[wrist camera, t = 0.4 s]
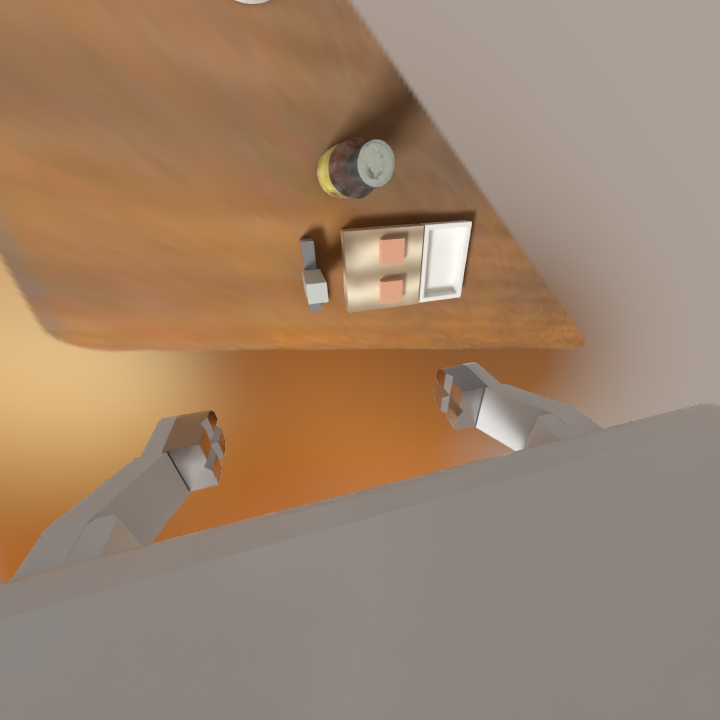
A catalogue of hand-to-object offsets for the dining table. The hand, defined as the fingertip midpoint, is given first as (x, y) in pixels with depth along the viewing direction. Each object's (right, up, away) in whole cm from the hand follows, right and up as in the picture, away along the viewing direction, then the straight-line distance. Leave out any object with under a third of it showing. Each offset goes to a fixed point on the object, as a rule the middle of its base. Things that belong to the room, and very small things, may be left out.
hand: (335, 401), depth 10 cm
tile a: (+6, +21, +39) cm, 44 cm away
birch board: (+5, +19, +43) cm, 47 cm away
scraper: (-8, +17, +41) cm, 45 cm away
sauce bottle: (-3, +31, +34) cm, 46 cm away
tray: (+16, +21, +45) cm, 52 cm away
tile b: (+6, +15, +43) cm, 46 cm away
